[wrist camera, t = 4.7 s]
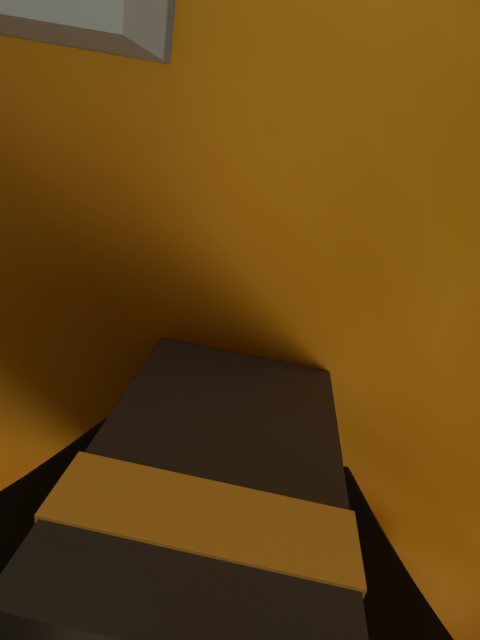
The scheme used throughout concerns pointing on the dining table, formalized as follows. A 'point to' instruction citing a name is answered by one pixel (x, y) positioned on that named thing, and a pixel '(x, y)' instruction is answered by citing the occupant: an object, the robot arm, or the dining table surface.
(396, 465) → the dining table surface
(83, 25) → the tray
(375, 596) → the robot arm
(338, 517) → the block
